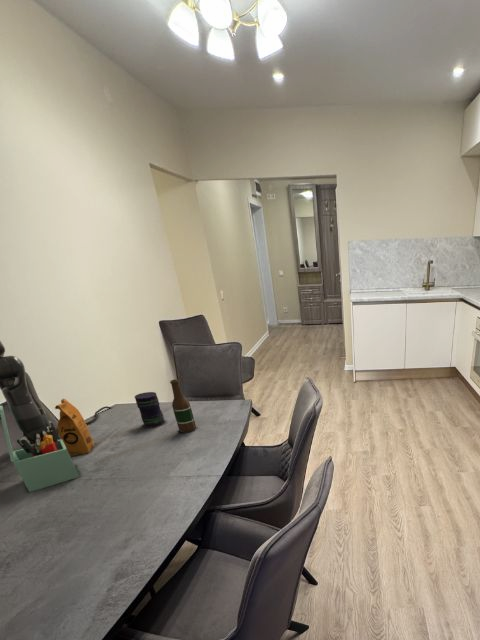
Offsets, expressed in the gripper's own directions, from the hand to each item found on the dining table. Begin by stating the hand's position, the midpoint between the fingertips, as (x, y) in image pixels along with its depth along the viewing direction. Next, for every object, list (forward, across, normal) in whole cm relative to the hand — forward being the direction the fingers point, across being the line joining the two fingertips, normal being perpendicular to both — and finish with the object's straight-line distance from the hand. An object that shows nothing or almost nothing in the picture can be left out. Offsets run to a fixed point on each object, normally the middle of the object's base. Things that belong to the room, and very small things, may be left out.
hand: (48, 457), depth 146 cm
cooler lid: (-12, +6, -5) cm, 14 cm away
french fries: (+3, 0, 0) cm, 3 cm away
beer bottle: (+8, -49, +26) cm, 56 cm away
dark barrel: (+9, -55, +4) cm, 56 cm away
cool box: (+8, +1, -1) cm, 8 cm away
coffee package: (+9, -23, -10) cm, 27 cm away
